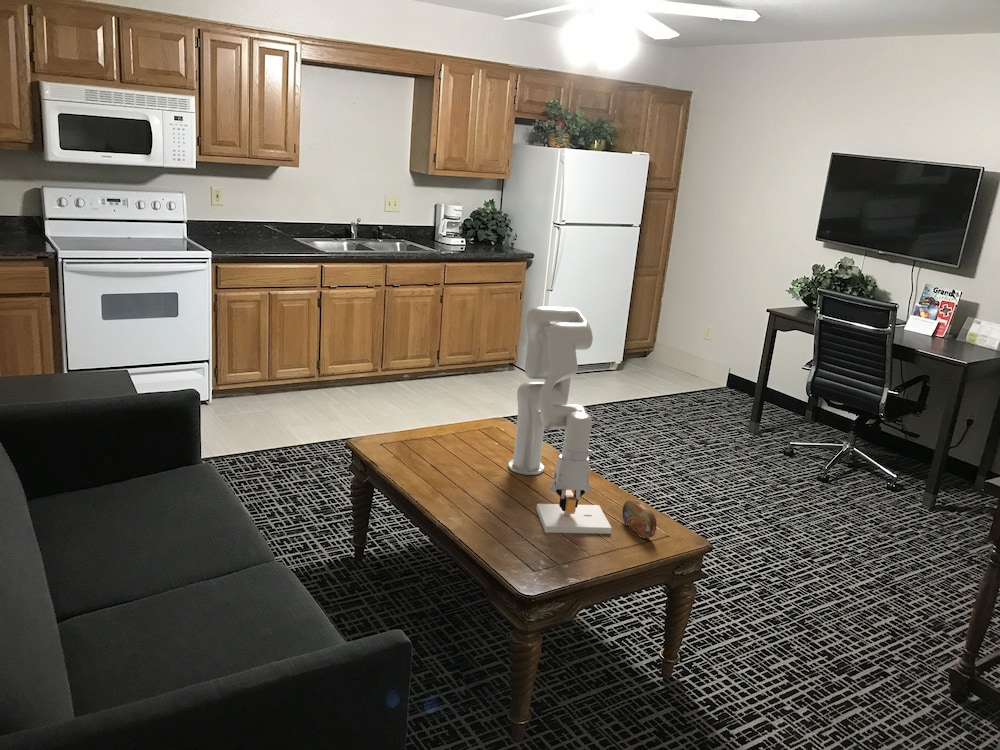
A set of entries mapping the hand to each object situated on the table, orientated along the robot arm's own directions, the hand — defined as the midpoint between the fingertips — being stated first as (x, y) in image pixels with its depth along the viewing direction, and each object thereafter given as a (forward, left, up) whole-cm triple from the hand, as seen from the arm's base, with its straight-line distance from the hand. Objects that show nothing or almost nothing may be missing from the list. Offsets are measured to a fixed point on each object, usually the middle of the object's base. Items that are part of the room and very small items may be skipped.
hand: (567, 508), depth 244 cm
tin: (+6, +21, -4) cm, 22 cm away
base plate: (0, +2, -4) cm, 5 cm away
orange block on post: (0, 0, 0) cm, 0 cm away
